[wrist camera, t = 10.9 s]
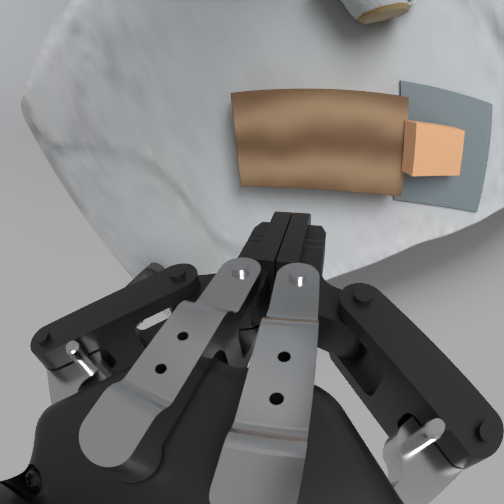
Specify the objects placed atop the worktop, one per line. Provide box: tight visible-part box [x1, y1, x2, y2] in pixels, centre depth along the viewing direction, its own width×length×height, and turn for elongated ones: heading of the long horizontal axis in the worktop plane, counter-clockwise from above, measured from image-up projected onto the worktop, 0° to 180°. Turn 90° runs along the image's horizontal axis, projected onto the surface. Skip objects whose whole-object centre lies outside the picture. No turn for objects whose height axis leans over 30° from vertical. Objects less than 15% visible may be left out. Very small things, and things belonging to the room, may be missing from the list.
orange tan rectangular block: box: [402, 120, 465, 176], centre depth 24 cm, size 6×9×2 cm, turn 95°
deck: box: [231, 89, 409, 197], centre depth 29 cm, size 12×20×4 cm, turn 95°
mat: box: [394, 81, 492, 212], centre depth 26 cm, size 16×14×1 cm
